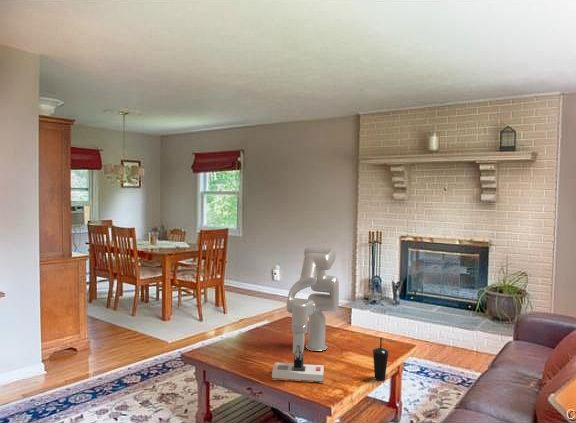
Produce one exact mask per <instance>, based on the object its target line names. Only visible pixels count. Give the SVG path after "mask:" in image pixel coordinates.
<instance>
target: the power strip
mask: <svg viewBox="0 0 576 423" xmlns="http://www.w3.org/2000/svg"><path fill="white" fill-rule="evenodd" d="M324 369H325V365H323V364H322V365H319V364H306V363H304V368H303V371H294V363H290V362H274V365H273V368H272V371H271V380H272V379H289V380H301V381H313V382H323V383H324V374H325V370H324Z"/></svg>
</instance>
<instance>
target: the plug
mask: <svg viewBox="0 0 576 423" xmlns="http://www.w3.org/2000/svg"><path fill="white" fill-rule="evenodd" d="M293 355H294V356H293V364H294V365H295V354H293ZM301 359H302V360H301V368H295V367H294V371H303V368H304V364H305V361H304V360H305V355H304V354H303V355H301Z"/></svg>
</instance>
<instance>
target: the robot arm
mask: <svg viewBox="0 0 576 423" xmlns="http://www.w3.org/2000/svg"><path fill="white" fill-rule="evenodd" d="M303 255H304V257H303V263H302V268H301V271H300V272H301V273H300V277H299V278H300V279H299V280H297V281H296V282H295V283H294V284H292V286H291V288H290V289H289V291H288V295H287V299H286V311H287V312H288V313H290V314H291V332H292V333H293V337H292V355H295V365H294V367H295V368H301V360H302V359H301V355H304V349H306V348H307V349H309V350H315V351H322V350H326V349H327V348H328V345H326V320H327V319H326V316H325V313H324V312H329V313H330V312H331V313H334V312H337V311H338V310H339V305H340V304H339V303H340V302H339V296H340V294H339V293H340V288H339V287H340V286H339V283H340V282H339V279H338V277H336V276H334V275H327V273H326V271H328V270H331V268H332V266H333V264H334V262H335V260H336V256H337V254H336V250H335V249H334V248H333V247H332V248H331V247H320V246H317V247H316V246H307V247H305V248H304V250H303ZM307 288H311V291H313V293H311V294H309V295H308V297H307V298H300V297H299V298H296V297H295V296H296V295H297V294H298V293H299V292H300V291H301V290H305V289H307ZM314 292H315V293H314ZM327 293H328V294H327ZM307 333H308V338H307V339H308V340H307V342H308V343H306V345H305V342H306V340H305V339H306V338H305V337H306V336H305V335H306V334H307ZM305 347H306V348H305ZM307 349H306V350H307ZM309 350H308V351H309ZM327 350H328V349H327ZM327 350H326V351H327Z"/></svg>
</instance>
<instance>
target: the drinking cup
mask: <svg viewBox="0 0 576 423" xmlns="http://www.w3.org/2000/svg"><path fill="white" fill-rule="evenodd" d="M379 338H380V339H379V340H380V341H379V347H375V348H373V349H372V353H373V354H372V355H373V369H374V379H375V378H376V379H375V380H377V381H378V382H379V381H381V382H382V381H383V382H384V381H385V380H386V375H387V374H386V373H387V367H388V358H389V357H388V356H389V353H390V351H389V350H388V349H386V348H384V347H382V342H383V337H381V336H380V337H379Z"/></svg>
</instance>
